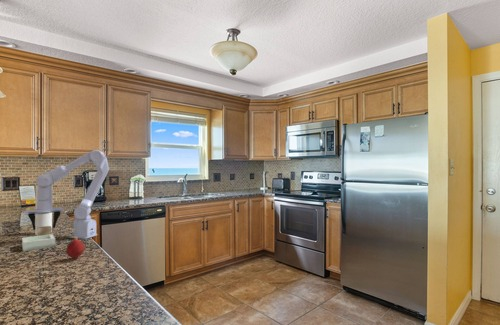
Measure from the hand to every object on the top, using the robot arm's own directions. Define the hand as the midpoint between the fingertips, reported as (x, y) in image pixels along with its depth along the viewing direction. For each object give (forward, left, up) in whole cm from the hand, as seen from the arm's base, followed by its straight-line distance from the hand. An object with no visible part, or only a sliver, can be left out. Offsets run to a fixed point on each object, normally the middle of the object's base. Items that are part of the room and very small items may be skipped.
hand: (44, 228), depth 133 cm
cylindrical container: (+13, -11, -6) cm, 18 cm away
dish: (-8, +10, -5) cm, 13 cm away
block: (0, 0, -6) cm, 6 cm away
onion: (-38, +21, -6) cm, 44 cm away
